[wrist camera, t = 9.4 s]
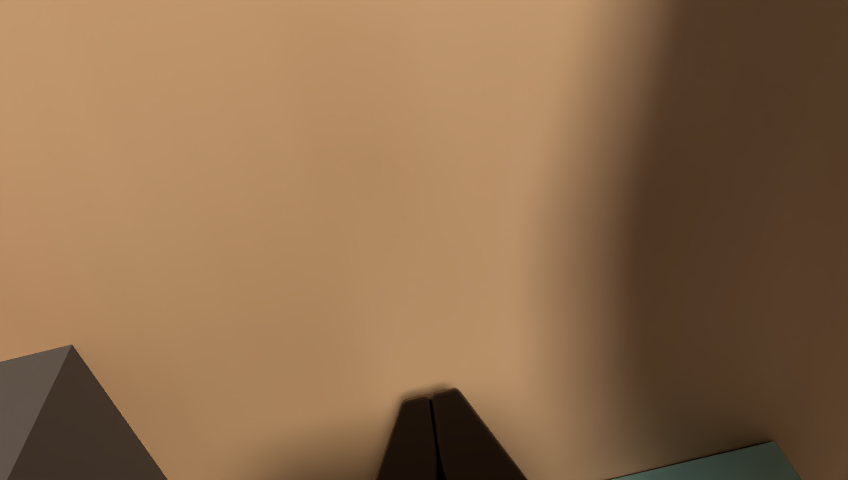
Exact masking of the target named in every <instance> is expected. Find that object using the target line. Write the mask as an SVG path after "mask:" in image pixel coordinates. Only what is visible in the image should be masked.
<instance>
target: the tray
mask: <svg viewBox="0 0 848 480" xmlns="http://www.w3.org/2000/svg"><path fill="white" fill-rule="evenodd" d="M612 480H801V478H800V477H799V475H798V474H797V472H796V471H795V470H794V468H793V467H792V465H791V464H790V462H789V461H788V459H787V458H786V457H785V455H784V454H783V452H782V451H781V449H780V448H779V446H778V445H777V443H776V442H775V441H773V442H769V443H765V444H761V445H756V446H752V447H748V448H744V449H739V450H735V451H731V452H727V453H722V454H718V455H714V456H710V457H705V458H701V459H697V460H693V461H688V462H684V463H680V464H675V465H671V466H667V467H663V468H658V469H654V470H650V471H646V472H641V473H637V474H633V475H629V476H624V477H620V478H616V479H612Z"/></svg>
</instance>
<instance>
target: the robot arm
mask: <svg viewBox="0 0 848 480" xmlns="http://www.w3.org/2000/svg"><path fill="white" fill-rule="evenodd" d="M375 480H528V479H527V478H526V477H525V475H524V474H523V473H522V472H521V470H520V469H519V468H518V466H517V465H516V464H515V462H514V461H513V460H512V458H511V457H510V456H509V455H508V453H507V452H506V451H505V449H504V448H503V447H502V445H501V444H500V443H499V441H498V440H497V439H496V438H495V436H494V435H493V434H492V432H491V431H490V430H489V428H488V427H487V426H486V424H485V423H484V422H483V421H482V419H481V418H480V417H479V415H478V414H477V413H476V411H475V410H474V409H473V407H472V406H471V405H470V403H469V402H468V401H467V400H466V398H465V397H464V396H463V394H462V393H461V392H460V391H459V390H458V389H456V388H452V389H448V390H444V391H439V392H435V393H433V394H432V396H431V398H430V397H429V396H428V395H423V396H419V397H414V398H410V399H406V400H404V401H403V402H402V404H401V406H400V409H399V412H398V415H397V418H396V421H395V423H394V426H393V429H392V432H391V435H390V438H389V441H388V444H387V446H386V449H385V452H384V455H383V458H382V461H381V464H380V467H379V469H378V472H377V475H376V478H375Z"/></svg>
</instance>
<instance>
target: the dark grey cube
mask: <svg viewBox="0 0 848 480" xmlns="http://www.w3.org/2000/svg"><path fill="white" fill-rule="evenodd" d="M0 480H167V478H166V477H165V475H164V474H163V473H162V471H161V470H160V468H159V467H158V465H157V464H156V463H155V461H154V460H153V458H152V457H151V456H150V454H149V453H148V451H147V450H146V449H145V447H144V446H143V444H142V443H141V441H140V440H139V439H138V437H137V436H136V434H135V433H134V432H133V430H132V429H131V427H130V426H129V424H128V423H127V422H126V420H125V419H124V417H123V416H122V415H121V413H120V412H119V410H118V409H117V407H116V406H115V405H114V403H113V402H112V400H111V399H110V398H109V396H108V395H107V393H106V392H105V391H104V389H103V388H102V386H101V385H100V383H99V382H98V381H97V379H96V378H95V376H94V375H93V374H92V372H91V371H90V369H89V368H88V366H87V365H86V364H85V362H84V361H83V359H82V358H81V357H80V355H79V354H78V352H77V351H76V349H75V348H74V347H73V345H68V346H64V347H60V348H56V349H52V350H48V351H44V352H39V353H35V354H31V355H27V356H23V357H19V358H15V359H11V360H7V361H2V362H0Z"/></svg>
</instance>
